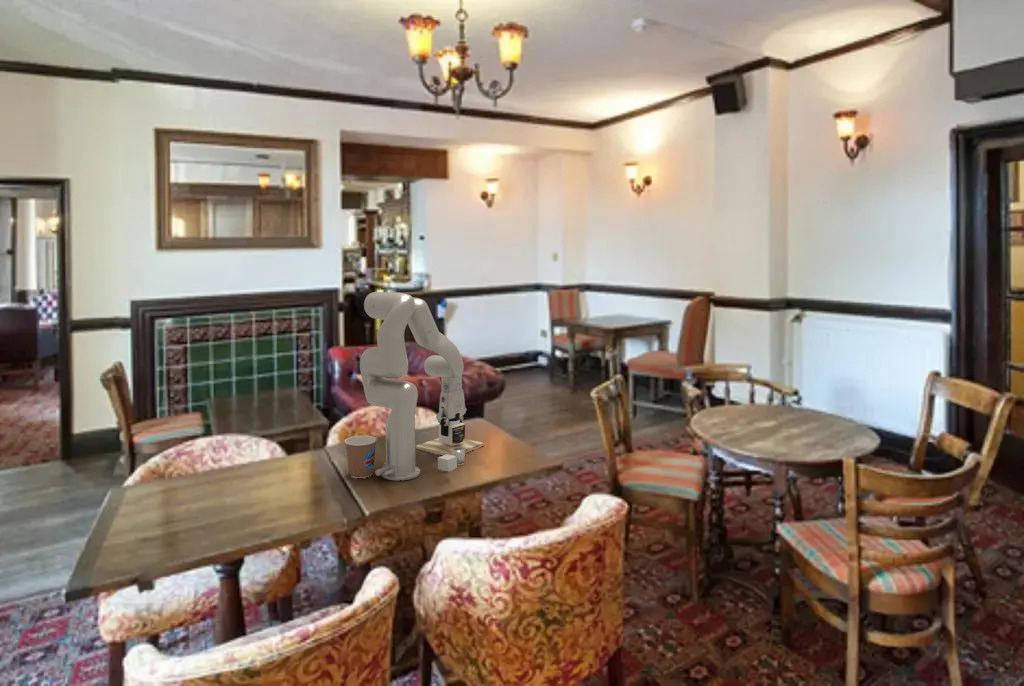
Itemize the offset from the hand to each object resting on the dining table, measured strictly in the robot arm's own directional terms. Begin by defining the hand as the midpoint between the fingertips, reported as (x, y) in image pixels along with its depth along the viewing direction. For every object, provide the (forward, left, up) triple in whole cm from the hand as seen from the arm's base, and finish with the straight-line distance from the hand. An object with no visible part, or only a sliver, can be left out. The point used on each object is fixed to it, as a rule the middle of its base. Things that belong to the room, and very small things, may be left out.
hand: (451, 433), depth 239 cm
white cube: (-19, -14, -6) cm, 24 cm away
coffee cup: (-40, +5, -6) cm, 41 cm away
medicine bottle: (0, 0, -4) cm, 4 cm away
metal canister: (-12, -13, -6) cm, 19 cm away
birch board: (0, +1, -6) cm, 6 cm away
